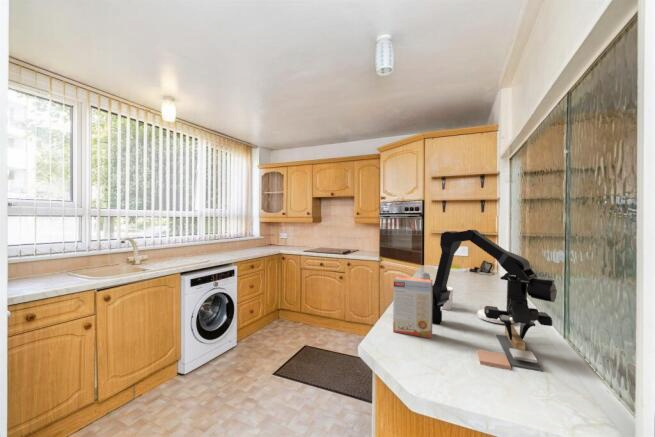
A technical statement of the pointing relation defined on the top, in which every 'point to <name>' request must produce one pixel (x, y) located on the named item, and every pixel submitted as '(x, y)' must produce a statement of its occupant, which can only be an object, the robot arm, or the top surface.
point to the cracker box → (412, 306)
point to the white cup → (449, 302)
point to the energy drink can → (424, 275)
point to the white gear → (483, 316)
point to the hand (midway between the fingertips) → (515, 340)
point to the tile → (493, 359)
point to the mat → (514, 362)
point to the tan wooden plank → (519, 347)
